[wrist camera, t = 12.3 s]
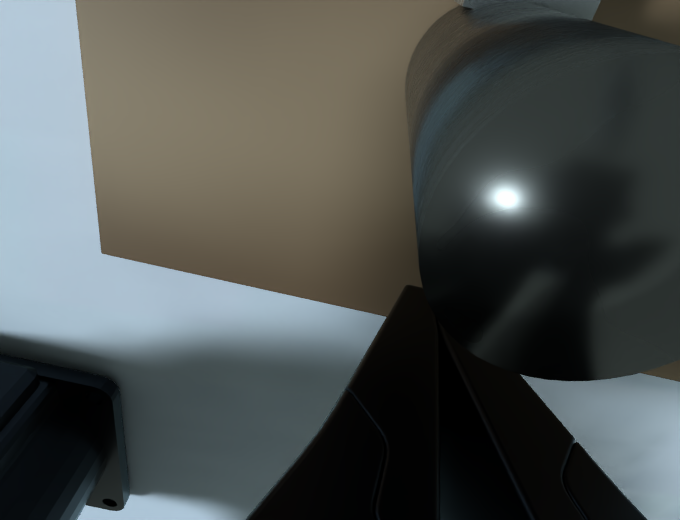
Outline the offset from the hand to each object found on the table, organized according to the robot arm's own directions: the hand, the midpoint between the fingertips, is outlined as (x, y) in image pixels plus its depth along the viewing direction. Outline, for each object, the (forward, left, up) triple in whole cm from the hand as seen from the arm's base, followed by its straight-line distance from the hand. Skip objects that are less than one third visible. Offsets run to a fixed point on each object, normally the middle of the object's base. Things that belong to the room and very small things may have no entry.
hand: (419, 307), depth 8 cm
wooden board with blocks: (+13, 0, -2) cm, 13 cm away
